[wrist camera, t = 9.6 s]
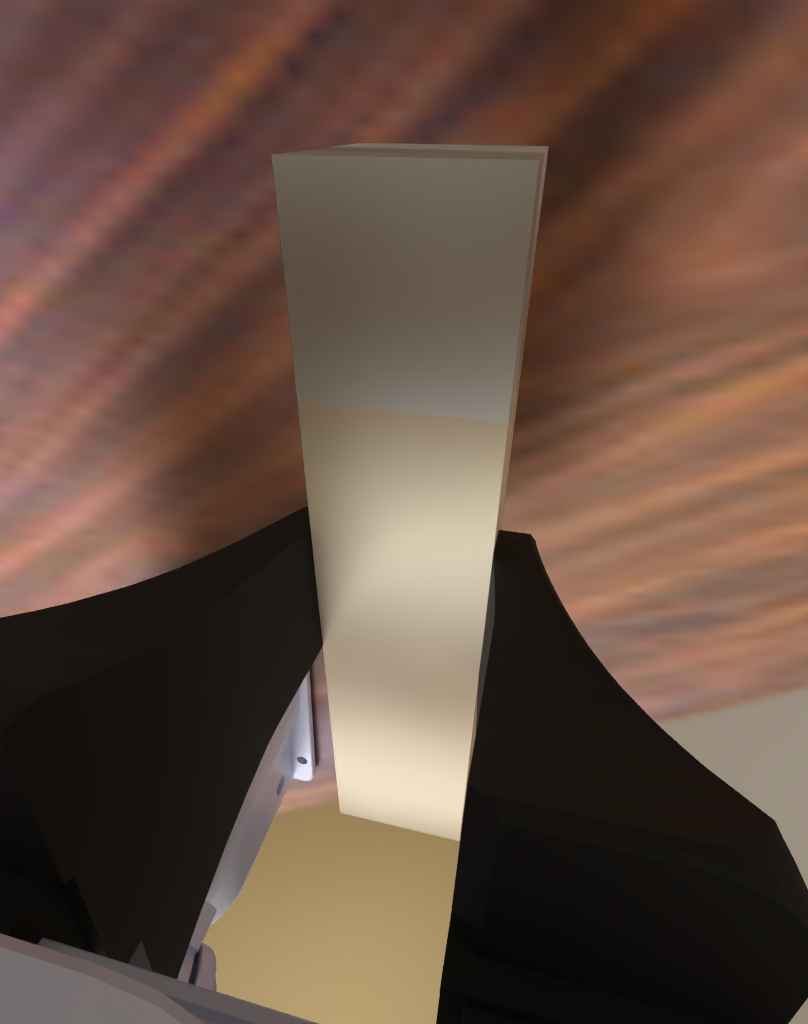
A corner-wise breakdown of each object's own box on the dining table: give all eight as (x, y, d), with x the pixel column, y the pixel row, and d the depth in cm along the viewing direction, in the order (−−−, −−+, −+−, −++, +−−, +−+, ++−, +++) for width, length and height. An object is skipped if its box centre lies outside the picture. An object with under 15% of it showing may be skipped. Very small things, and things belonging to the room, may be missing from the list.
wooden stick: (477, 719, 17) (459, 841, 14) (377, 699, 17) (340, 812, 15) (548, 146, 9) (540, 160, 6) (360, 143, 9) (271, 155, 7)
